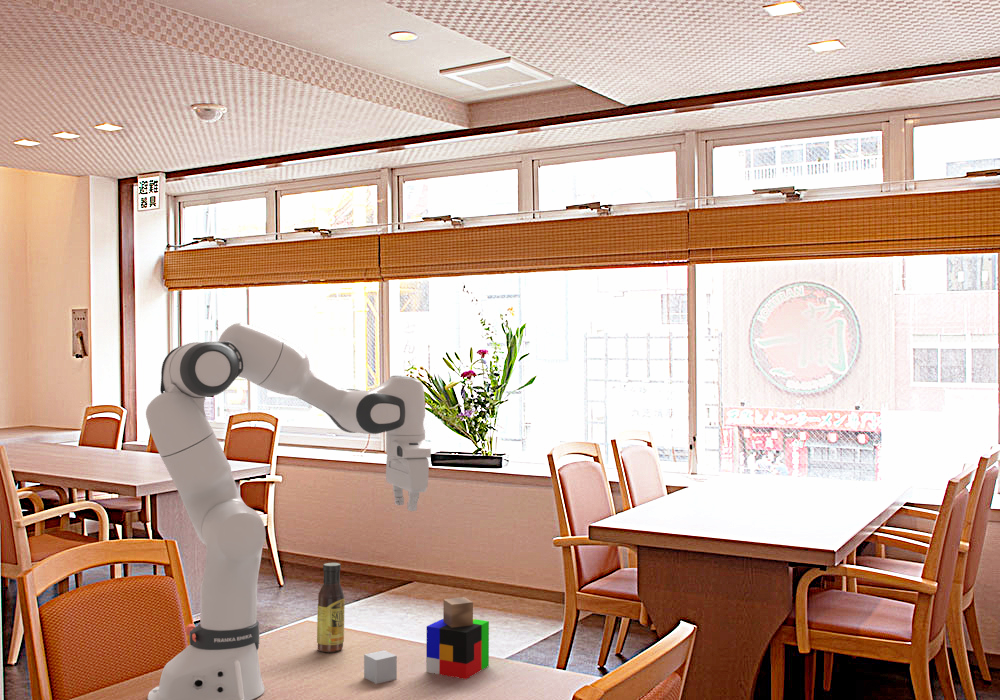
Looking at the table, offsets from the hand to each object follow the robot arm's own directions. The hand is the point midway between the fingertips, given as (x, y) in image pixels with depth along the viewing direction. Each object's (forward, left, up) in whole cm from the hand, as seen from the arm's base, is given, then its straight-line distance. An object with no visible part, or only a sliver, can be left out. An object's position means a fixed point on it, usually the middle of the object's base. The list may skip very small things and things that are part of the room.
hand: (405, 507), depth 216 cm
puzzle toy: (+8, -12, -34) cm, 37 cm away
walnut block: (+8, -12, -24) cm, 28 cm away
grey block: (-9, -11, -34) cm, 37 cm away
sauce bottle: (-14, +13, -34) cm, 39 cm away
